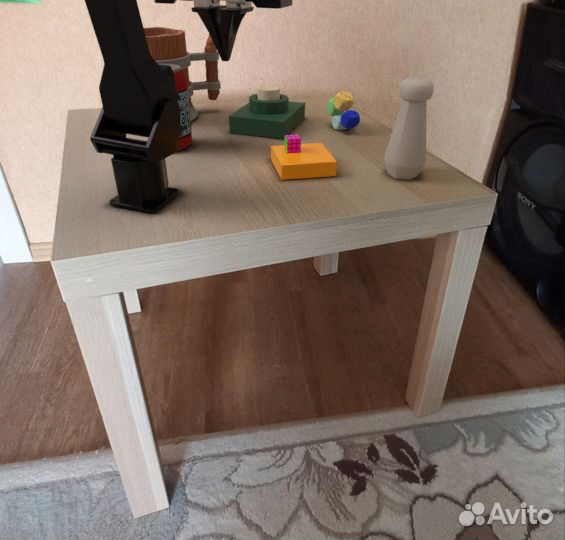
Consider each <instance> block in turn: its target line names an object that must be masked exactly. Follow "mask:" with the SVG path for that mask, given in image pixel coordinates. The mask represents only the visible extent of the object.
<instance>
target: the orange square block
mask: <svg viewBox="0 0 565 540" xmlns="http://www.w3.org/2000/svg"><path fill="white" fill-rule="evenodd" d="M270 160H271V162H272V165H273V167H274V168H275V170H276V172H277V174H278V176H279V177H280V180H281V181H288V180H300V179H315V178H328V177H336V176H337V169H338V161H337V159H336V158H335V156H333V155H332V153H331V152H330V151H329V150H328V148H327V147H326V146H325V145H324V144H323V143H322V142H314V143H302V138H301V137H300V135H299V134H288V135H285V138H284V142H283V144H278V145H270Z"/></svg>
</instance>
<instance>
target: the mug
mask: <svg viewBox="0 0 565 540" xmlns="http://www.w3.org/2000/svg"><path fill="white" fill-rule="evenodd" d="M143 28H144V32H145V36H146V40H147V44H148V48H149V51H150V54H151V56H152V58H153V59H154V60H155V61H156V62H157V64H175V65H179V66H180V67H181V70H182V72H183V73H184V75H185V77H186V79H187V89H188V98H189V108H190V119H191V122H193V121H194V120H195V119H196V118H197V116H198V115H199V114H198V111H197V109H196V108H195V106H194V104H193V102H192V97H193V96H194V91H202V90H203V91H204V90H206V91H207V99H208V100H209V101H217V100H218V98H219V95H220V93H221V91H220V90H221V89H222V86H221V80H220V79H219V69H218V68H219V60H220V55H219V53H218V51H217V49H216V47H215V45H214V42H213V40H212V38H211V36H210V34H209V33H208V37H207V39H206V41H205V46H204V51H202V52H189V51H188V50H187V39H186V31H185V30H183V29H176V28H171V27H165V26H164V27H163V26H151V27H143ZM198 61H201V62H202V61H204V62H205V64H204V67H205V80H204V81H191V80H190V73H189V67H190V66H192V62H198Z"/></svg>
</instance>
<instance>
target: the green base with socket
mask: <svg viewBox="0 0 565 540" xmlns="http://www.w3.org/2000/svg"><path fill="white" fill-rule="evenodd" d="M289 99H290V98H289V97H288V96H287V95H286V94H282V93H280V100H275V101H264V100H258V98H257V93H253V94H251V95H249V96H248V103H246V104H245V105H243V106H242V107H240V108H237V110H235V111H233V112H232V113H231V114H229V115H228V124H229V126H228V127H229V133H230V134H236V135H246V136H254V137H262V138H270V139H277V140H278V139H279V140H285V135H290V133H292V132H293V131H294V130H295V129H296V128H297V127H298V126H299V125H300V124H301V123H302V122H303V121H304V120H305V117H306V102H301V101H292V100H289Z"/></svg>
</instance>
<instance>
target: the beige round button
mask: <svg viewBox="0 0 565 540" xmlns="http://www.w3.org/2000/svg"><path fill="white" fill-rule="evenodd" d="M256 90H257V93H256V94H257V98H258V100H264V101H275V100H280V94H281V87H280V86H277V85H273V84H272V85H271V84H265V85H259V86H257V88H256Z"/></svg>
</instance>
